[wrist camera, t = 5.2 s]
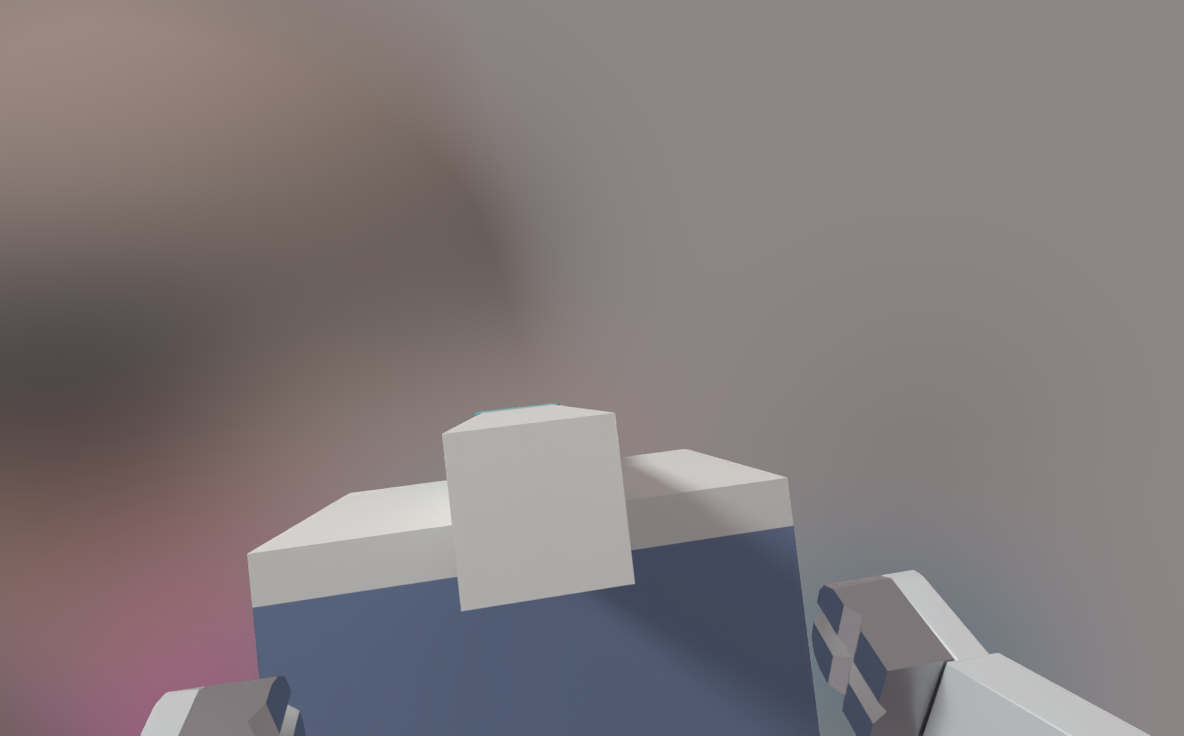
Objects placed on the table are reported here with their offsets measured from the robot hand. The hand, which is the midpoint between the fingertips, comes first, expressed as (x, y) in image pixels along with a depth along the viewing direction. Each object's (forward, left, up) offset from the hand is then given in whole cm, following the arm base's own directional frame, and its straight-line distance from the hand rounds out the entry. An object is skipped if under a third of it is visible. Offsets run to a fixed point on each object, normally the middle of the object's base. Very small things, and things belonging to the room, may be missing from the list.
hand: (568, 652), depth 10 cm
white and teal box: (+11, 0, 0) cm, 11 cm away
